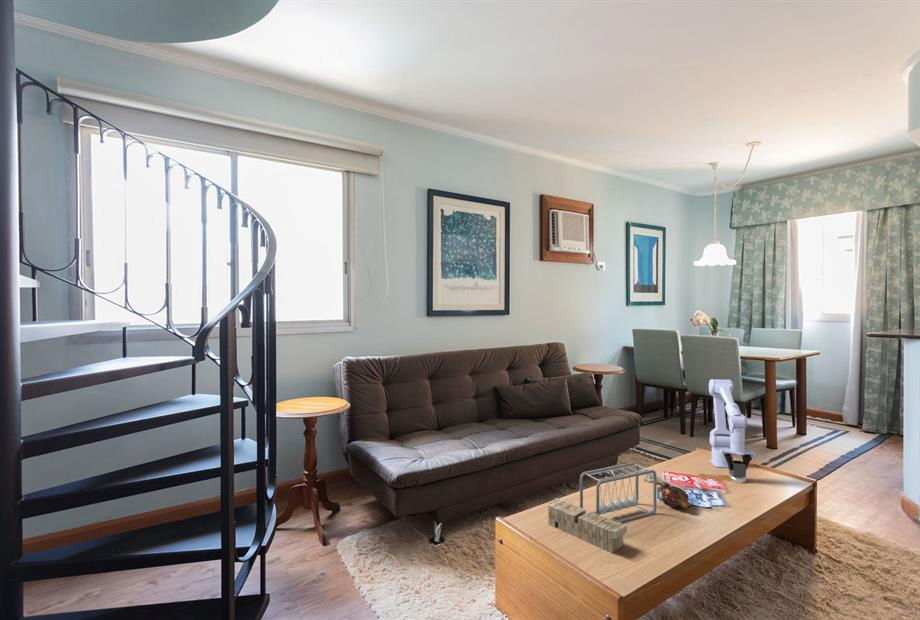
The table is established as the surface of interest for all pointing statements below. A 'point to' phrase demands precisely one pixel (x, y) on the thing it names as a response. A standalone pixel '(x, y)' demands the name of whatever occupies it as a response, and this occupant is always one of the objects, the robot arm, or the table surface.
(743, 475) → the hollow square tube
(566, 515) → the block tower
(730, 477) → the ratchet
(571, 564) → the table surface
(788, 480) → the table surface
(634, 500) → the newton's cradle
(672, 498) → the decorative turtle
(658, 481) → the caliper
